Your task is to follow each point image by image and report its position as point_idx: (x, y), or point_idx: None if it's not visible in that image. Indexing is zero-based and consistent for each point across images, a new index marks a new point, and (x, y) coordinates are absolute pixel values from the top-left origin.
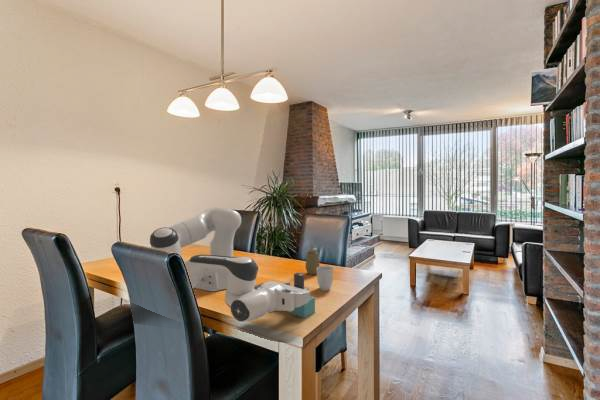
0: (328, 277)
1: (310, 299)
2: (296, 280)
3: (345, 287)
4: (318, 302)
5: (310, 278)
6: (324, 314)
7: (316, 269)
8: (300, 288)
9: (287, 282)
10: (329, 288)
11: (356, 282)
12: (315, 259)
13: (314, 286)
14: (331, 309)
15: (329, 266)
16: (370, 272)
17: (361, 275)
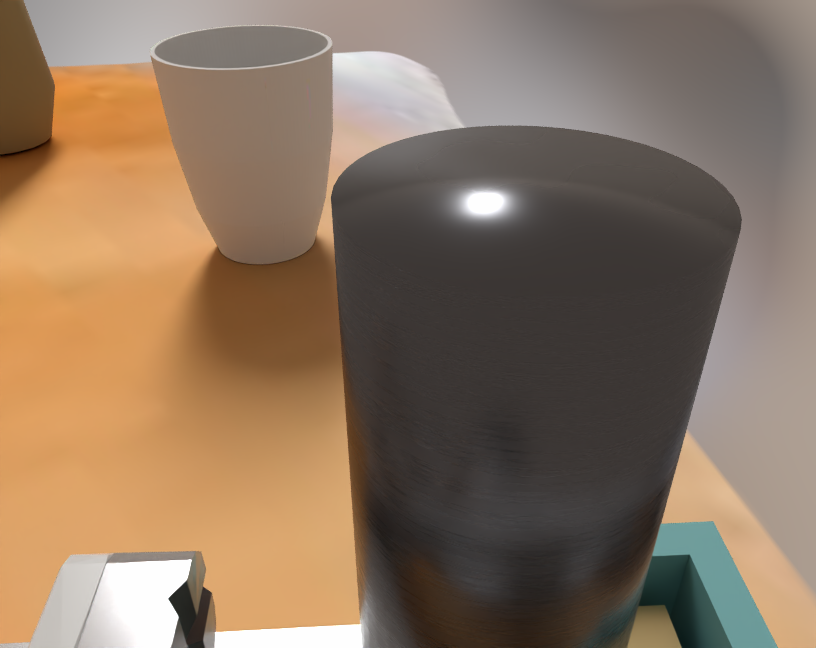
0: (319, 131)
1: (770, 642)
2: (587, 466)
3: None
4: None
5: (31, 186)
6: (795, 645)
7: (41, 100)
8: (638, 591)
9: (106, 593)
10: (317, 229)
11: (393, 127)
12: (6, 11)
13: (151, 250)
14: (697, 489)
15: (252, 25)
16: (360, 55)
17: (345, 80)
